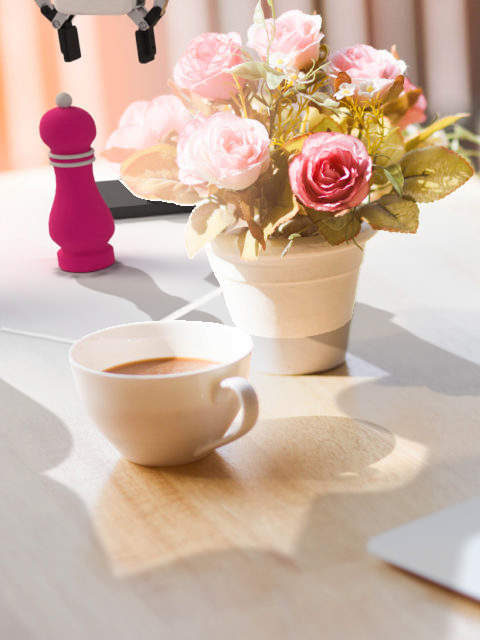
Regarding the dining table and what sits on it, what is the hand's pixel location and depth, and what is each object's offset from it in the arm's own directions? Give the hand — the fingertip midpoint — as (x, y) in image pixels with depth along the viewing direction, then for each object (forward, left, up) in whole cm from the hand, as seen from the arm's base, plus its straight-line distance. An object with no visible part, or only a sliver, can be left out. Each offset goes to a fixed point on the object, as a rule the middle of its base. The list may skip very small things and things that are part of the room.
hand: (110, 61), depth 145 cm
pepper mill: (-6, -16, -21) cm, 27 cm away
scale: (0, +8, -21) cm, 22 cm away
